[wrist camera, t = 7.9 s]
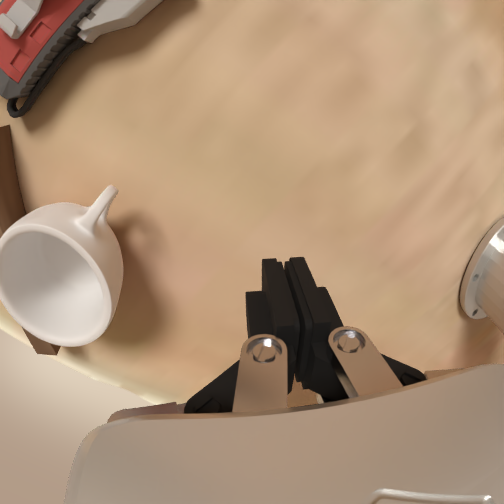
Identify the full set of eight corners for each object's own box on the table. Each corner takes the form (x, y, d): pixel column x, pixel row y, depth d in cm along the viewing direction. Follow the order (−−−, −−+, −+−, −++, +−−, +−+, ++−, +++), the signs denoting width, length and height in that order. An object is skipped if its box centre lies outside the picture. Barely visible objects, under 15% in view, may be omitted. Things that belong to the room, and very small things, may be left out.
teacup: (99, 310, 20) (79, 365, 15) (19, 250, 17) (-19, 294, 12) (180, 212, 17) (169, 259, 13) (81, 132, 14) (33, 151, 9)
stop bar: (9, 124, 12) (-19, 133, 10) (68, 328, 20) (56, 355, 18) (-11, 132, 12) (-39, 142, 10) (49, 328, 20) (37, 353, 17)
